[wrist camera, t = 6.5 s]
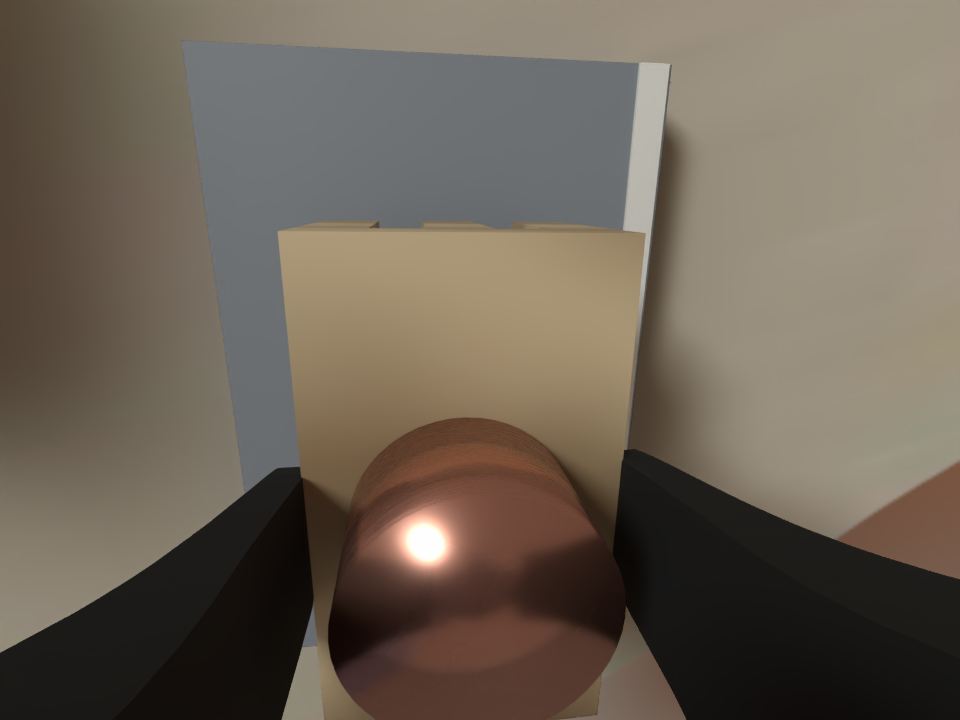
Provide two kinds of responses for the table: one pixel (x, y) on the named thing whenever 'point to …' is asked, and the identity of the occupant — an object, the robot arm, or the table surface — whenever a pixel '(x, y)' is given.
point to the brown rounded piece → (471, 581)
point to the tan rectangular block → (454, 362)
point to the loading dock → (398, 175)
